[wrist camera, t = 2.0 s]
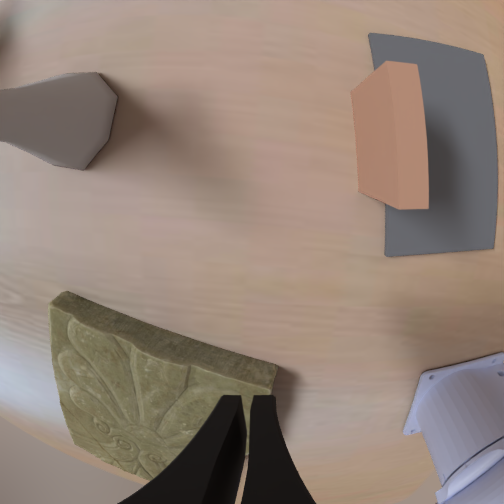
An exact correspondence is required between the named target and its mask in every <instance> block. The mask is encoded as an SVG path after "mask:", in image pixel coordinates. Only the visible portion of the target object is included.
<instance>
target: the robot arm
mask: <svg viewBox="0 0 504 504" xmlns="http://www.w3.org/2000/svg"><path fill="white" fill-rule="evenodd" d="M503 361H504V353H503V352H501V353H497V354H494V355H491V356H487V357H484V358H480V359H476V360H473V361H469V362H465V363H461V364H457V365H453V366H448V367H444V368H440V369H435V370H430V371H426V372H424V373H423V374H422V375H421V376H420V380H419V383H418V387H417V390H416V393H415V397H414V400H413V403H412V406H411V409H410V412H409V415H408V418H407V421H406V424H405V426H404V429H403V433H404V435H409V434H414V433H418V432H422V434H423V437H424V439H425V442H426V444H427V447H428V450H429V452H430V455H431V457H432V460H433V463H434V466H435V468H436V471H437V474H438V476H439V479H440V482H441V485H442V488H441V489H440V490H438V491H437V492H436V493H435V494H436V498H437V501H438V502H437V503H436V504H504V363H503ZM431 375H432V376H431ZM430 376H431V377H430ZM246 442H247V427H246V421H245V415H244V409H243V403H242V397H241V395H223V396H221V397H220V399H219V401H218V403H217V404H216V406H215V407H214V409H213V411H212V412H211V414H210V415H209V417H208V418H207V420H206V421H205V422H204V424H203V425H202V427H201V428H200V429H199V431H198V432H197V433H196V435H195V436H194V437H193V438H192V440H191V441H190V442H189V443H188V444H187V446H186V447H185V448H184V449H183V450H182V451H181V452H180V454H179V455H178V456H177V457H176V458H175V459H174V460H173V461H172V462H171V463H170V464H169V465H168V466H167V467H166V468H165V469H164V470H163V471H162V472H161V473H159V474H158V475H157V476H156V477H155V478H154V479H152V480H151V481H150V482H149V483H147V484H146V485H145V486H144V487H143V488H141V489H140V490H138V491H137V492H135V493H134V494H132V495H131V496H129V497H128V498H126V499H124V500H123V501H121V502H120V503H118V504H235V500H236V496H237V491H238V487H239V483H240V478H241V474H242V469H243V464H244V460H245V453H246ZM241 504H316V503H315V501H314V500H313V498H312V496H311V495H310V493H309V491H308V490H307V488H306V486H305V485H304V483H303V481H302V479H301V477H300V475H299V473H298V471H297V469H296V467H295V465H294V463H293V461H292V459H291V456H290V454H289V452H288V449H287V447H286V444H285V441H284V438H283V435H282V432H281V429H280V426H279V422H278V417H277V412H276V398H275V397H274V396H273V395H254V396H253V400H252V404H251V409H250V427H249V459H248V470H247V475H246V481H245V486H244V491H243V496H242V501H241Z"/></svg>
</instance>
